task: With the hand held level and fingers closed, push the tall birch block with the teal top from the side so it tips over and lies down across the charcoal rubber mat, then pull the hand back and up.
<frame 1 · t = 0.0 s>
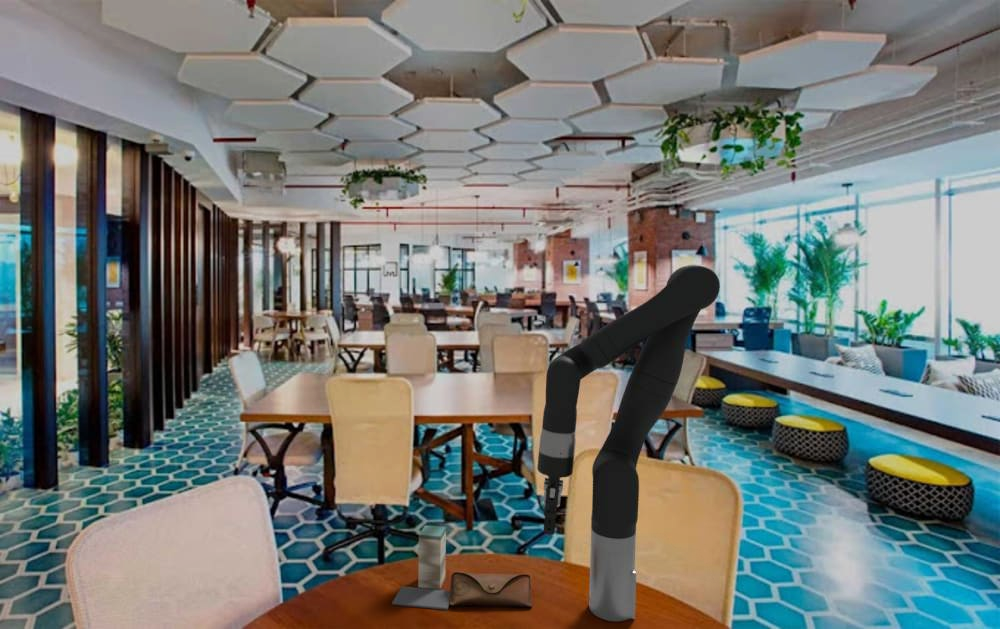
hand: (549, 525, 117), 17 cm above the table, tool pointing down, fingers open, 8 cm apart
sunglasses case: (491, 598, 120), on the table, touching rubber mat
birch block: (432, 582, 126), on the table
rubber mat: (423, 598, 119), on the table
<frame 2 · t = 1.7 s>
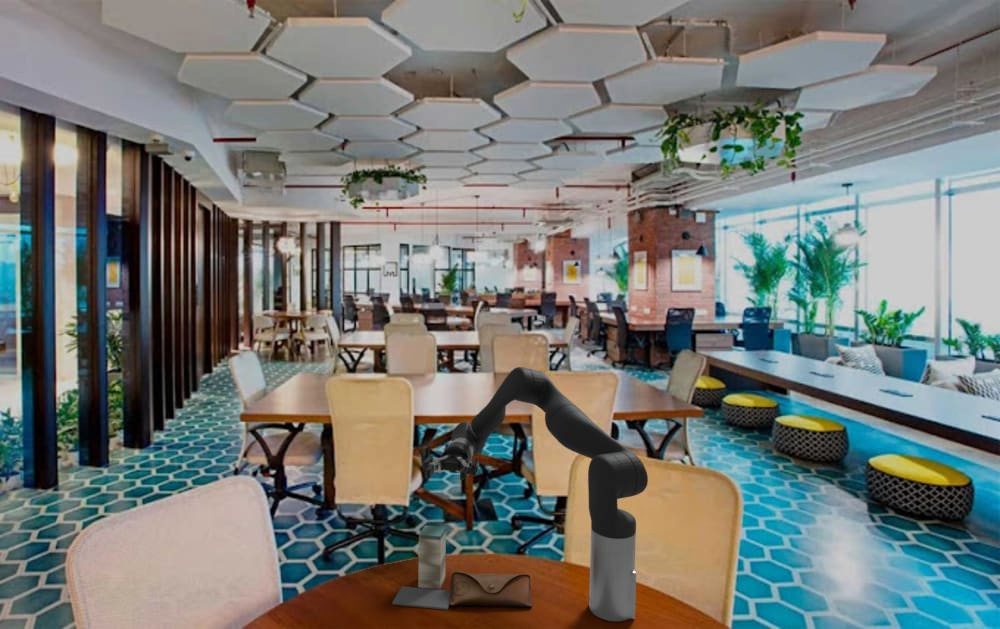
hand: (445, 475, 137), 21 cm above the table, tool horizontal, fingers open, 8 cm apart
nothing on the table moved.
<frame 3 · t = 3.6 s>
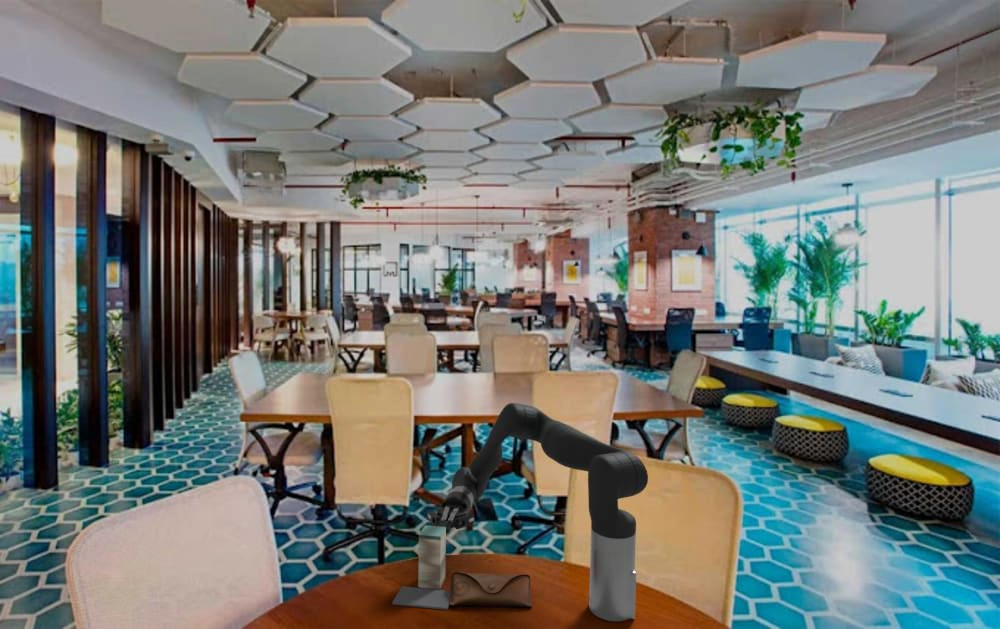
hand: (442, 531, 136), 7 cm above the table, tool horizontal, fingers closed
nothing on the table moved.
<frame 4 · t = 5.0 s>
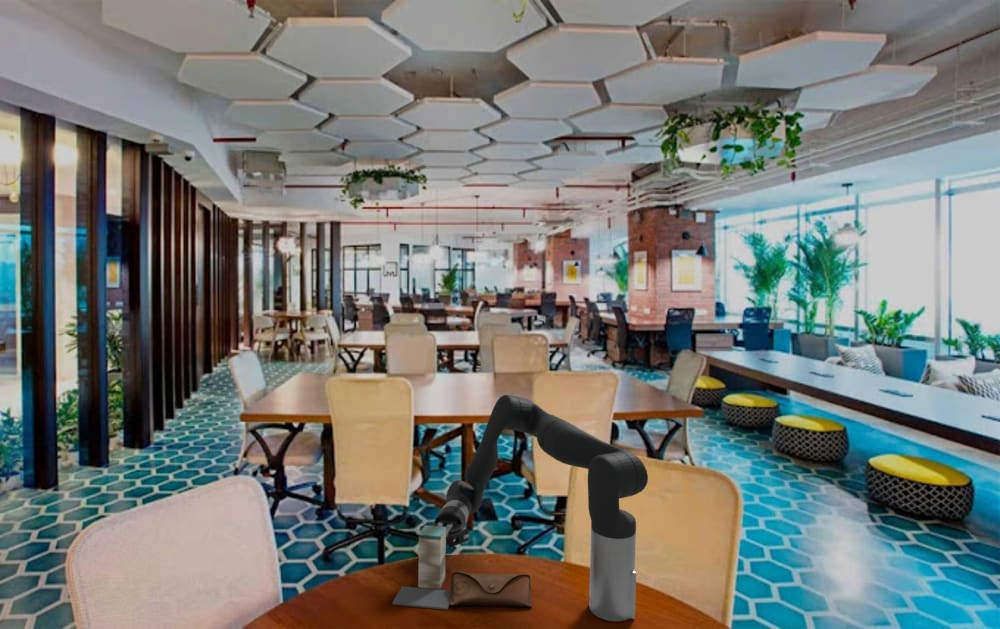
hand: (435, 549, 128), 6 cm above the table, tool horizontal, fingers closed
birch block: (432, 582, 126), on the table, touching gripper
everything else where it was.
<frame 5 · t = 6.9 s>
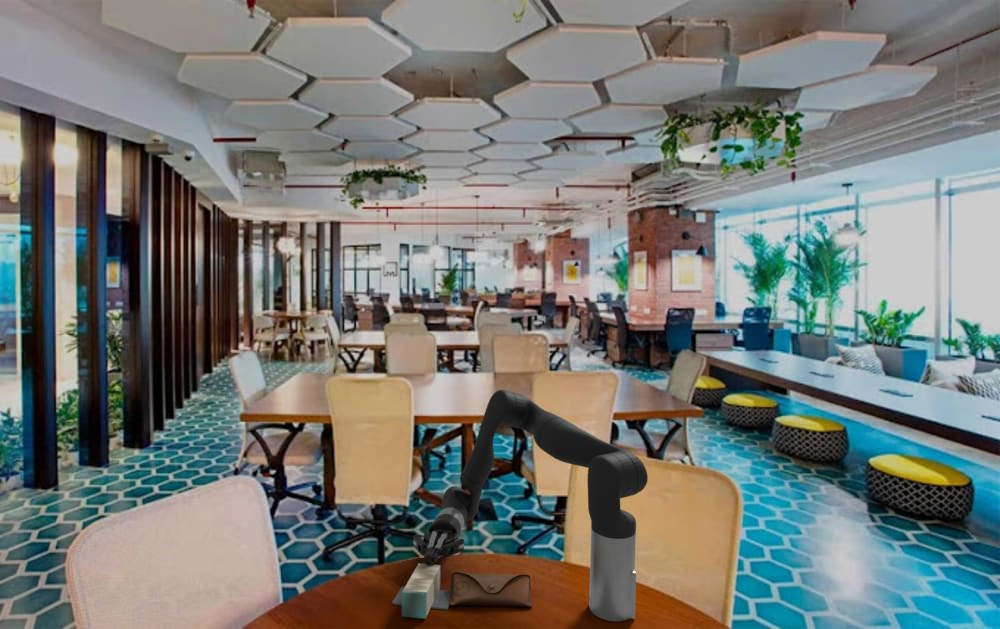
hand: (428, 560, 123), 6 cm above the table, tool horizontal, fingers closed
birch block: (429, 575, 123), point 3 cm above the table, tilted 90°, touching gripper, rubber mat
everything else where it was.
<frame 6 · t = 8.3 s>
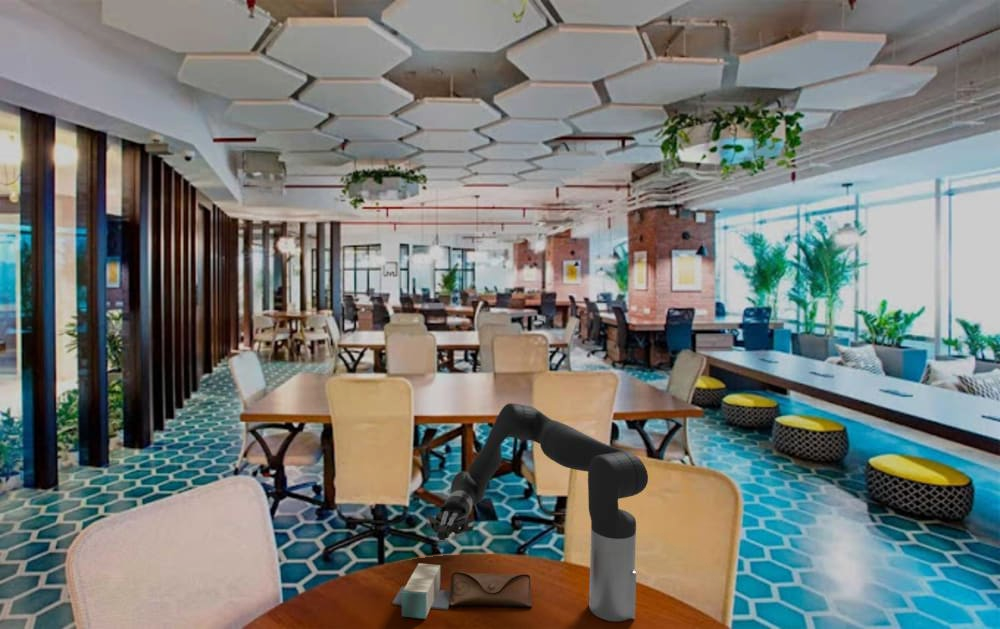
hand: (441, 536, 134), 7 cm above the table, tool horizontal, fingers closed
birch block: (429, 575, 123), point 3 cm above the table, tilted 90°, touching rubber mat
everything else where it was.
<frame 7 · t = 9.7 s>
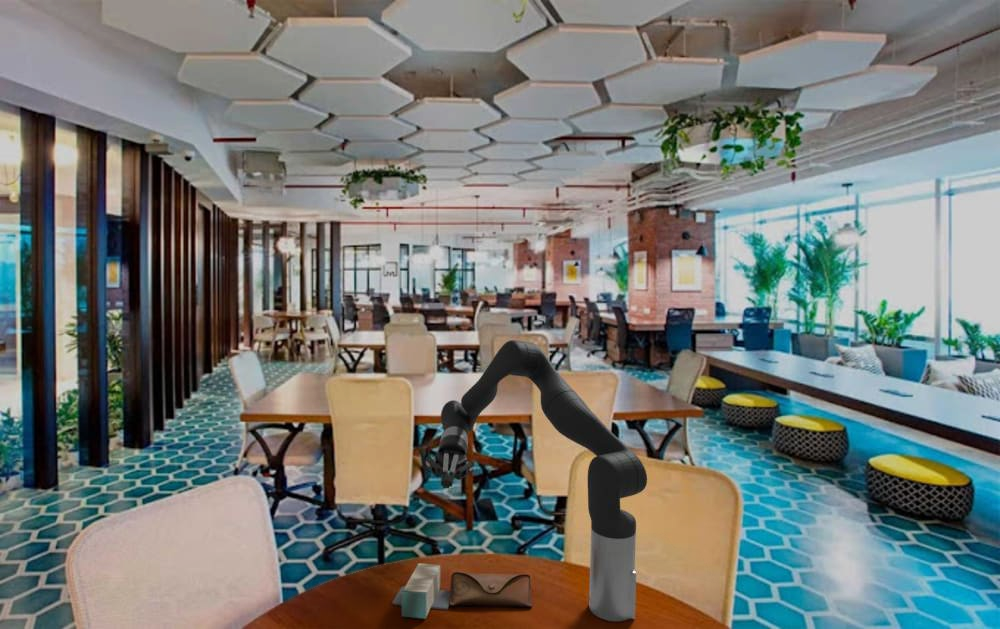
hand: (446, 485, 132), 20 cm above the table, tool tilted 75°, fingers closed
nothing on the table moved.
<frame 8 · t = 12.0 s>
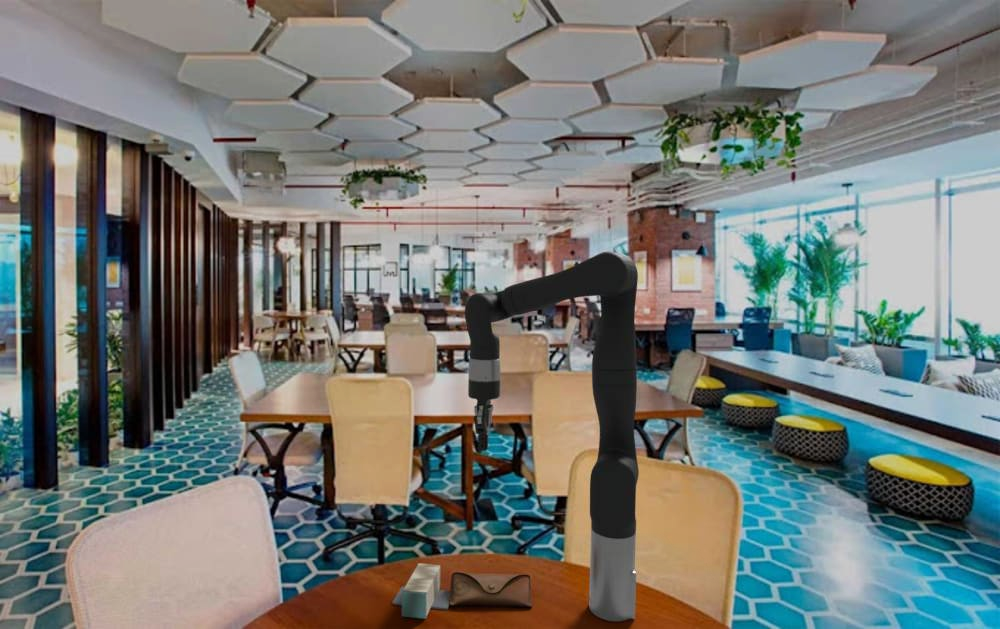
hand: (483, 449, 131), 29 cm above the table, tool pointing down, fingers closed
nothing on the table moved.
at the end: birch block tilted 90°; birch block inside the target area (0.7 cm from its centre), point 2.9 cm above the table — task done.
